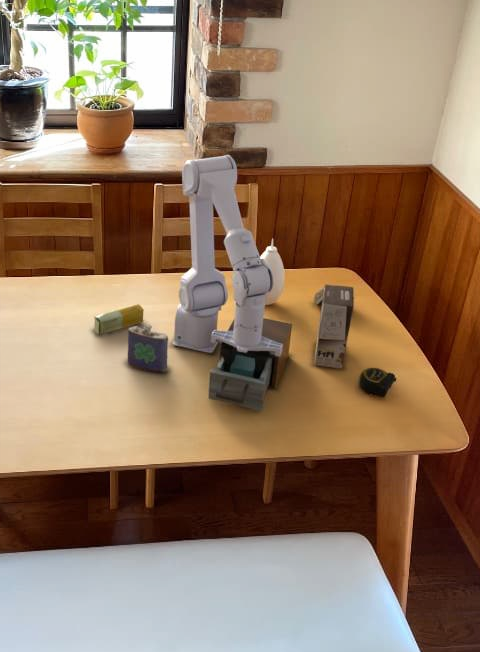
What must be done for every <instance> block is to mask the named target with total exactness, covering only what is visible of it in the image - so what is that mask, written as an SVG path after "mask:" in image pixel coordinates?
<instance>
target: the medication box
mask: <svg viewBox="0 0 480 652" xmlns="http://www.w3.org/2000/svg"><path fill="white" fill-rule="evenodd" d="M144 310H145V309H144V308H143V307H142V306H141V304H139V303H138V304H135V305H131V306H127V307H124V308H120V309H117V310H113V311H109V312H106V313H103V314H99V315H95V316H94V317H93V321H94V326H93V330H94V332H95V333H96V334H97V335H98V336H100V335H102V334H106V333H110V332H112V331H117V330H120V329H123V328H127V327H132V326H134V325H138V324H141V323H143V322H144V312H145V311H144Z"/></svg>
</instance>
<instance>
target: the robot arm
mask: <svg viewBox="0 0 480 652" xmlns="http://www.w3.org/2000/svg"><path fill="white" fill-rule="evenodd" d="M181 177H182V179H181V181H182V182H181V183H182V193H183V196H185V197H188V198H189V199H188V200H189V222H190V223H189V224H190V247H191V248H190V250H191V268H190V269H188V271H186V272H185V273H184V274H183V275H182V276H181V277H180V280H179V281H180V282H179V290H178V301H179V304H178V307H177V309H176V312H175V315H174V333H173V342H172V345H173V346H175V347H180V348H185V349H189V350H194V351H198V352H203V353H206V354H207V353H208V354H213V353H214V351H215V350H216V348H217V346H218V344H219V343H220V344H221V343H222V344H221V348H220V347H219V354H220V353H221V355H222V356H223V358H224V360H225V363H226V366H227V370H228V373H230V367H231V365H232V363H233V361H234V359H235V352H236V348H237V351H239V352H244V353H246V352H247V351H258V353H257V355H256V357H255V372H254V378H256V379H258V378H259V374H260V371H261V369H262V367H263V366H264V364H265V363H266V362H267V360H268V358H269V356H270V353H273V354H275V356H278V357H280V355H281V353H282V348H283V344H281V343H277V342H274V341H272V340H270V339H267V338H265V337H263V336H261V335H262V326H263V318H265V317H264V315H265V306H266V305H265V298H266V293H267V292H270V291H271V290H272V288H273V275H272V272H271V269H270V267H269V266H268V265H267V264H266V263H265V261H264V260H263V258H262V259H260V257H261V255H260V253H259V251H258V247H257V245H256V242H255V238H254V236H253V233H252V232H251V231H250V230H249V229H247V228H245V226H244V224H243V223H244V222H243V218H242V215H241V212H240V207H239V204H238V200H237V196H236V191H235V189H236V186H237V182H238V168H237V164H236V161H235V159H233V157H232V156H231V155H230V154H224V155H219V156H213V157H205V158H199V159H187V160H186V162H185V163H184V165H183V166H182V169H181ZM214 208H215V210H216V213H217V215H218V217H219V220H220V222H221V224H222V227H223V228H224V231H225V233H226V236H225V238H224V239H223V245H224V247H225V250H226V253H227V255H228V256H227V257H228V259H229V262H230V265H231V268H232V271H233V274H232V276H231V285H232V289H233V296H232V297H233V301H235V308H234V318H235V319H234V318H233V320H234V330H233V331H228V330H218V322H219V320H218V319H219V312H220V311H222V306H225V305H226V303H227V301H228V298H229V292H228V288H227V284H226V283H227V282H226V276H225V275H224V273H223V272H222V271H220V270H218V269H217V268H216V266H215V264H216V263H215V231H214Z"/></svg>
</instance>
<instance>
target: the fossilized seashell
mask: <svg viewBox="0 0 480 652" xmlns="http://www.w3.org/2000/svg"><path fill="white" fill-rule="evenodd" d="M324 288H325V285H323V287H322V288H320V289H318V290H317V291H316V293H315V294H314V299H313V300H314V301H313V302H314V305H316V306H319V307H322V301H323V295H324Z"/></svg>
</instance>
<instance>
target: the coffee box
mask: <svg viewBox="0 0 480 652" xmlns="http://www.w3.org/2000/svg"><path fill="white" fill-rule="evenodd" d="M324 286H325V288H324V295H323V301H322V306H321V308H320V315H319V321H318V328H317V336H316V342H315V353H314V366H319V367H324V368H325V367H326V368H333V369H339V370H341V369H342V368H343V364H344V360H345V354H346V349H347V345H348V339H349V338H348V337H349V334H350V327H351V322H352V318H353V312H354V307H355V305H354V304H355V297H354V286H348V285H337V284H336V285H334V284H324Z"/></svg>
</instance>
